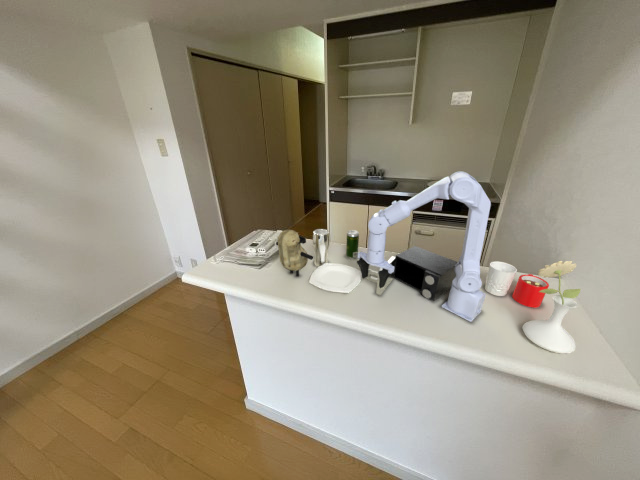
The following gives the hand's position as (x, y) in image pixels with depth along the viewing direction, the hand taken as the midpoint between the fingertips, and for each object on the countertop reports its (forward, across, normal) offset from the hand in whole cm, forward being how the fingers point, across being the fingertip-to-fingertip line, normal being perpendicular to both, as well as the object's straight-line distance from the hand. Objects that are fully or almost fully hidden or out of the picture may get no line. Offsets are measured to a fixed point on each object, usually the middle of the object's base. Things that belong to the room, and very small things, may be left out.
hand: (373, 282), depth 92 cm
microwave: (+4, -9, -18) cm, 20 cm away
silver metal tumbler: (+4, +28, +1) cm, 28 cm away
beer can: (+4, +23, -14) cm, 27 cm away
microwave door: (+4, +1, -5) cm, 6 cm away
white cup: (+4, -29, -34) cm, 45 cm away
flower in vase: (+4, -46, -18) cm, 49 cm away
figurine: (+4, +28, +15) cm, 32 cm away
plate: (+4, +14, +6) cm, 15 cm away
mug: (+4, -37, -38) cm, 53 cm away
